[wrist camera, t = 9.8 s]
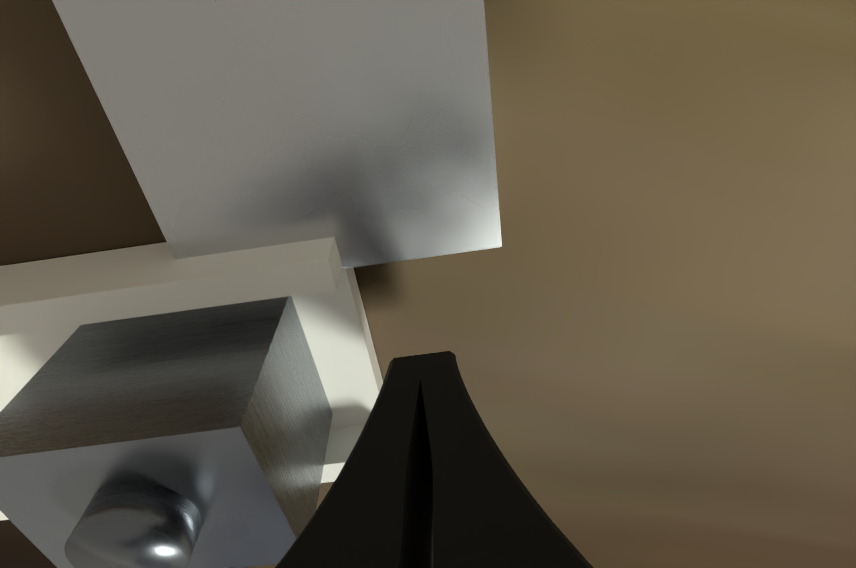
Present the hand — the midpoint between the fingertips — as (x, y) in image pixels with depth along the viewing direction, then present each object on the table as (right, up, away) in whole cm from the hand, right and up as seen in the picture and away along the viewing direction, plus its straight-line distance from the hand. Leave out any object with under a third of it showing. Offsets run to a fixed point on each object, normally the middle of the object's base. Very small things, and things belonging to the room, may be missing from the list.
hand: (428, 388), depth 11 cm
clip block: (-5, 0, +2) cm, 6 cm away
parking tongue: (-2, +6, -1) cm, 7 cm away
